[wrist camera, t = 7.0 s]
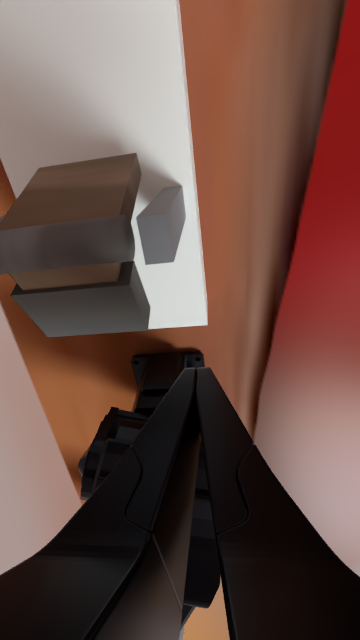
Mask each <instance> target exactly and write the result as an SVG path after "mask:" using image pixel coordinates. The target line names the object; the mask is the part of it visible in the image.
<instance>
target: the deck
mask: <svg viewBox="0 0 360 640" xmlns="http://www.w3.org/2000/svg"><path fill="white" fill-rule="evenodd" d="M131 153H137V157H138V161H139V165H140V169H141V173H142V175H141V180H140V184H139V188H138V193H137V197H136V202H135V206H134V211H133V215H132V220H131V226H132V229H133V234H134V240H135V256H134V259H133V261H134V262H135V265H136V268H137V271H138V273H139V276H140V279H141V282H142V285H143V288H144V290H145V293H146V296H147V299H148V302H149V304H150V307H151V308H150V317H149V325H148V329H158V328H172V327H186V326H200V325H207V294H206V284H205V273H204V262H203V251H202V241H201V230H200V219H199V208H198V198H197V187H196V176H195V165H194V155H193V144H192V133H191V122H190V112H189V101H188V90H187V79H186V69H185V58H184V47H183V36H182V26H181V15H180V4H179V0H0V159H1V161H2V164H3V166H4V169H5V172H6V174H7V177H8V179H9V182H10V184H11V187H12V189H13V192H14V194H15V197H16V199H17V198H18V197H19V195H20V194H21V193H22V191H23V190H24V188H25V187H26V185H27V184H28V183H29V181H30V180H31V178H32V177H33V176H34V174H35V173H36V171H37V170H38V169H39V168H41V167H47V166H54V165H60V164H67V163H73V162H80V161H86V160H93V159H99V158H106V157H112V156H118V155H125V154H131ZM4 216H5V215H4ZM4 216H1V217H0V222H1V221H2V219H3V218H4Z"/></svg>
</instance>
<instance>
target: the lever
mask: <svg viewBox="0 0 360 640" xmlns="http://www.w3.org/2000/svg"><path fill="white" fill-rule="evenodd" d="M141 175H142V173H141V169H140V165H139V161H138V157H137V153H131V154H125V155H118V156H112V157H106V158H99V159H93V160H86V161H80V162H73V163H67V164H60V165H54V166H47V167H41V168H39V169H38V170H37V171H36V173H35V174H34V176H33V177H32V178H31V180H30V181H29V183H28V184H27V185H26V187H25V188H24V190H23V191H22V193H21V194H20V195H19V197H18V198H17V200H16V201H15V202H14V204H13V205H12V207H11V208H10V209H9V211H8V212H7V214H6V215H5V216H4V218H3V219H2V221H1V222H0V275H2V274H10V276H11V277H12V278H13V279H14V280H15V282H16V283H17V284H16V286H15V288H14V290H13V292H12V294H11V295H10V296H11V297H12V298H13V299H14V300H15V301H16V303H17V304H18V305H19V306H20V307H21V308H22V309H23V310H24V311H25V312H26V314H27V315H28V316H29V317H30V318H31V319H32V320H33V321H34V322H35V324H36V325H37V326H38V327H39V328H40V329H41V330H42V331H43V332H44V334H45V335H46V336H47V337H61V336H75V335H90V334H104V333H119V332H133V331H147V330H148V325H149V317H150V308H151V307H150V304H149V302H148V299H147V296H146V293H145V290H144V288H143V285H142V282H141V279H140V276H139V273H138V271H137V268H136V265H135V262H134V261H133V259H134V256H135V240H134V234H133V229H132V226H131V220H132V215H133V211H134V206H135V202H136V197H137V193H138V188H139V184H140V180H141Z"/></svg>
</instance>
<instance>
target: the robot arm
mask: <svg viewBox="0 0 360 640" xmlns="http://www.w3.org/2000/svg"><path fill="white" fill-rule="evenodd" d="M196 357H200V358H196ZM135 360H138V361H139V362H136V361H135ZM131 364H132V368H133V372H134V375H135V379H136V382H137V386H138V390H137V394H136V398H135V401H134V405H133V408H132V412H130V411H124V410H119V408H116V407H111V409H110V411H109V413H108V415H105V417H104V420H103V421H102V422H101V424H100V426H99V429H98V432H97V434H96V436H95V438H94V440H93V442H92V444H91V445H90V447H89V448H88V449H87V451H86V452H85V453H84V455H83V456H82V457H81V459H80V461H79V465H78V470H79V472H80V474H81V476H82V481H81V485H82V488H81V500H85V501H86V502H85V503H84V504H83V505H82V507H81V508H80V509H79V510H78V511H77V512H76V513H75V515H74V516H73V517H72V518H71V519H70V520H69V522H68V523H67V524H66V525H65V526H64V527H63V529H62V530H61V531H60V532H59V533H58V534H57V535H56V536H55V537H54V538H53V539H52V540H51V541H50V542H49V543H48V544H47V545H46V546H45V547H44V548H42V549H41V550H40V551H39V552H37V553H36V554H34V555H33V556H32V557H30V558H28V559H27V560H25V561H23V562H22V563H20V564H18V565H17V566H15V567H13V568H12V569H10V570H8V571H6V572H5V573H3V574H1V575H0V640H179V637H180V631H181V629H182V627H183V626H184V624H185V623H186V621H187V619H188V618H189V617H190V615H191V613H192V612H193V610H194V609H195V607H202V608H208V607H209V606H210V605H211V603H212V601H213V598H214V596H215V594H216V592H217V590H218V588H219V585H220V574H221V580H222V587H223V594H224V602H225V609H226V616H227V623H228V630H229V637H230V640H360V577H359V576H358V575H357V574H355V573H354V572H353V571H352V570H351V569H350V568H349V567H348V566H346V565H345V564H344V563H343V562H342V561H341V560H340V559H339V558H338V556H337V555H336V554H335V553H334V552H333V551H332V550H331V548H330V547H329V546H328V545H327V544H326V542H325V541H324V540H323V539H322V537H321V536H320V535H319V534H318V532H317V531H316V530H315V528H314V527H313V526H312V525H311V523H310V522H309V521H308V519H307V518H306V516H305V515H304V514H303V513H302V511H301V510H300V509H299V507H298V506H297V505H296V503H295V502H294V501H293V500H292V498H291V497H290V496H289V495H288V493H287V492H286V490H285V489H284V488H283V486H282V485H281V483H280V482H279V481H278V479H277V478H276V477H275V475H274V474H273V472H272V471H271V469H270V468H269V466H268V465H267V463H266V461H265V460H264V459H263V457H262V455H261V453H260V451H259V450H258V448H257V446H256V445H254V442H253V440H252V438H251V436H250V435H249V433H248V431H247V430H246V428H245V426H244V425H243V423H242V421H241V419H240V418H239V416H238V414H237V413H236V411H235V409H234V407H233V406H232V404H231V402H230V401H229V399H228V397H227V396H226V394H225V392H224V390H223V389H222V387H221V385H220V384H219V382H218V380H217V378H216V377H215V375H214V373H213V372H212V370H211V368H209V367H205V365H204V356H203V354H202V353H201V352H182V353H163V354H147V355H135V356H133V357H132V359H131Z"/></svg>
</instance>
